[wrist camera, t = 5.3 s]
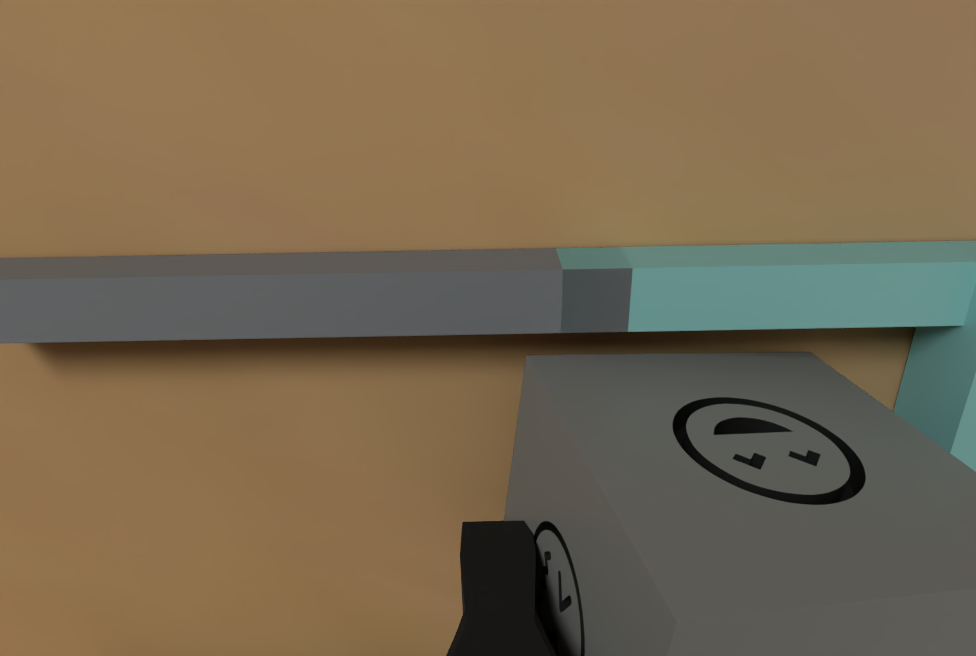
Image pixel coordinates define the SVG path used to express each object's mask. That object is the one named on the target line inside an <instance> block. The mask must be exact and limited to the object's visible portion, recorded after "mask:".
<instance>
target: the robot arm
mask: <svg viewBox="0 0 976 656" xmlns="http://www.w3.org/2000/svg"><path fill="white" fill-rule="evenodd" d="M460 564H461V583H462V603H463V616H462V619H461V621H460V624H459V627H458V630H457V632H456V635H455V637H454V639H453V642H452V644H451V646H450V649H449V651H448V653H447V655H446V656H557V655H556V653H555V651H554V649H553V647H552V645H551V643H550V641H549V639H548V637H547V635H546V633H545V631H544V628H543V626H542V624H541V622H540V619H539V617H538V615H537V613H536V611H535V587H536V551H535V544H534V537H533V532H532V531H531V530H530V528H529V527H528V525H527V524H526V523H525V521H482V522H463V524H462V536H461V550H460Z"/></svg>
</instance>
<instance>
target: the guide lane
mask: <svg viewBox="0 0 976 656" xmlns="http://www.w3.org/2000/svg"><path fill="white" fill-rule="evenodd" d="M862 327H916V329H915V333H914V336H913V340H912V344H911V347H910V351H909V355H908V359H907V362H906V366H905V370H904V374H903V377H902V381H901V385H900V388H899V392H898V396H897V400H896V403H895V407H894V411H893V412H894V413H895V414H897V415H898V416H899V417H901V418H902V419H904V420H905V421H906V422H908V423H909V424H910V425H912V426H913V427H915V428H916V429H917V430H919V431H920V432H922V433H923V434H924V435H926V436H927V437H928V438H930V439H931V440H933V441H934V442H935V443H937V444H938V445H939V446H941V447H942V448H944V449H945V450H946V451H948V452H949V453H951V454H952V455H953V456H955V457H956V458H957V459H959V460H960V461H962V462H963V463H964V464H966V465H967V466H968V467H970V468H971V469H973V470H974V471H975V472H976V241H926V242H871V243H816V244H761V245H707V246H652V247H597V248H542V249H487V250H432V251H377V252H322V253H267V254H212V255H157V256H102V257H47V258H0V343H48V342H102V341H157V340H211V339H265V338H319V337H373V336H428V335H482V334H536V333H590V332H645V331H699V330H753V329H807V328H862Z"/></svg>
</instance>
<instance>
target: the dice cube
mask: <svg viewBox="0 0 976 656" xmlns="http://www.w3.org/2000/svg"><path fill="white" fill-rule="evenodd" d="M504 521H525V523H526V524H527V525H528V527H529V528H530V530H531V531H532V532H533V537H534V544H535V551H536V587H535V611H536V613H537V615H538V617H539V619H540V622H541V624H542V626H543V628H544V631H545V633H546V635H547V637H548V639H549V641H550V643H551V645H552V647H553V649H554V651H555V653H556V655H557V656H976V472H975V471H974V470H973V469H971V468H970V467H968V466H967V465H966V464H964V463H963V462H962V461H960V460H959V459H957V458H956V457H955V456H953V455H952V454H951V453H949V452H948V451H946V450H945V449H944V448H942V447H941V446H939V445H938V444H937V443H935V442H934V441H933V440H931V439H930V438H928V437H927V436H926V435H924V434H923V433H922V432H920V431H919V430H917V429H916V428H915V427H913V426H912V425H910V424H909V423H908V422H906V421H905V420H904V419H902V418H901V417H899V416H898V415H897V414H895V413H894V412H892V411H891V410H890V409H888V408H887V407H886V406H884V405H883V404H881V403H880V402H879V401H877V400H876V399H875V398H873V397H872V396H870V395H869V394H868V393H866V392H865V391H863V390H862V389H861V388H859V387H858V386H857V385H855V384H854V383H852V382H851V381H850V380H848V379H847V378H846V377H844V376H843V375H841V374H840V373H839V372H837V371H836V370H834V369H833V368H832V367H830V366H829V365H828V364H826V363H825V362H823V361H822V360H821V359H819V358H818V357H817V356H815V355H814V354H812V353H811V352H762V353H679V354H595V355H526V361H525V368H524V376H523V383H522V390H521V398H520V405H519V412H518V420H517V427H516V435H515V442H514V449H513V457H512V464H511V471H510V479H509V486H508V494H507V501H506V508H505V516H504Z"/></svg>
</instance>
